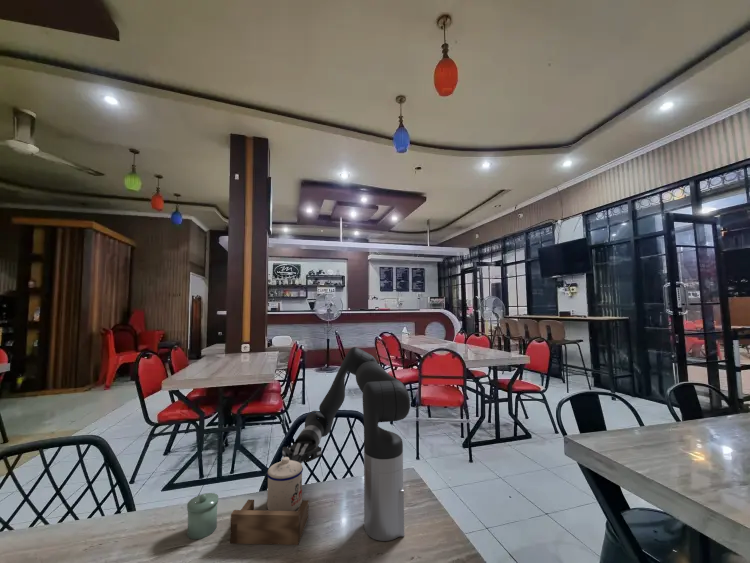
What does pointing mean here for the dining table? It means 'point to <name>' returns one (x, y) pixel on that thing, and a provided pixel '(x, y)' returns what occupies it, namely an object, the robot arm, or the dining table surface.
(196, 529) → the green ceramic sugar pot
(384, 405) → the robot arm
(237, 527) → the walnut cup holder
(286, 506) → the teacup with lid
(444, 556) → the dining table surface
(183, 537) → the dining table surface
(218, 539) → the dining table surface
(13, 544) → the dining table surface
